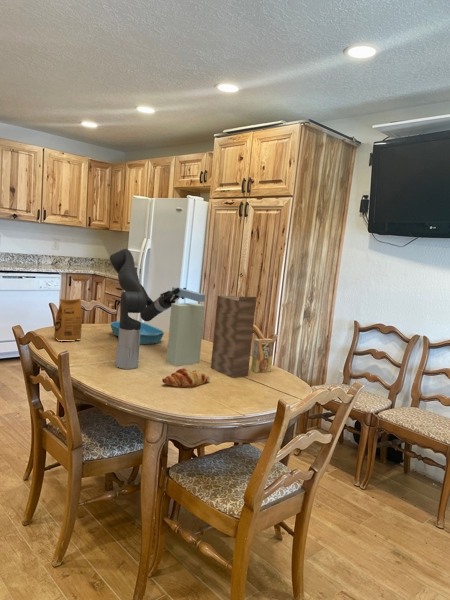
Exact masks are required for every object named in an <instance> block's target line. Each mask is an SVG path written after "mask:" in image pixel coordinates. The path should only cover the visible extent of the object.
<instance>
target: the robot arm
mask: <svg viewBox="0 0 450 600" xmlns="http://www.w3.org/2000/svg"><path fill="white" fill-rule="evenodd" d="M109 261H110V263H111V266H112V267H113V268H114V271H115V272H116V274H117V279H118V283H119V286H120V288H121V289H122V290H124V291H122V292H121V295H120V298H119V299H120V300H119V301H120V302H119V305H120V306H119V321H120V325H119V337H118V339H117V340H118V341H117V342H118V344H117V346H116V353H115V354H116V355H115V368H118V367H119V369H124V370H132V369H136V368H138V367H139V357H140V346H141V345H140V332H141V323H140V322H141V321H140V320H137V319H135V318H132V317H130V315H129V314H139V315H140V319H141V320H142V321H144V322H151V320H154V318H156V317H157V316H158V315H159V314H161V313H163V312H164V311H167V310H169V309H171V303H176V302H177V301H178V300H180V299H181V300H185V298H184V297H181V296H178V295H175V294H177V293H179V292H180V289H179V288H180V287H178V288H176V289H175V290H172V289H171V290H168V291H165V292H162V293H161V294H160V295H159V297H157V298H156V299H155V300H154V301H153V300H152V298H150V297H149V294H148V293H147V291H146V289H145V287H144V286H143V285H142V284H141V282H140V278H139V275H138V272H137V270H136V266H135V260H134V257H133V254H132V253H131V250H129V249H127V248H123V249H120V250H119V251H117V252H115V253H112V254H110V255H109ZM182 289H186V290H187V287H183V288H182Z"/></svg>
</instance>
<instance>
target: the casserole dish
mask: <svg viewBox="0 0 450 600" xmlns="http://www.w3.org/2000/svg"><path fill="white" fill-rule="evenodd" d="M139 322H140V323H141V332H140V344H145V345H154V343H155V344H158V343H160V342H161V340H162V338H163V337H164V334H165V331H164V330H162V329H160V328H157V327H156V326H154V325H151V324H149V323H146V322H143V321H139ZM109 324H110V327H111V332H112V334H113V335H114V336H116V337H117V336H118V337H117V338H119V325H120V320H118V321H112V322H111V321H110V323H109Z"/></svg>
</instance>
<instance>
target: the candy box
mask: <svg viewBox="0 0 450 600" xmlns="http://www.w3.org/2000/svg"><path fill="white" fill-rule="evenodd" d="M253 341H254V342H253V350H252V359H251V369H250V371H252V372H253V373H254V374H255V373H256V374H257V373H268V372H271V370H272V365H273V364H272V363H273V354H274V347H275V346H274V345H275V340H274V339H272V338H255V339H253Z"/></svg>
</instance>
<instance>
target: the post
mask: <svg viewBox="0 0 450 600" xmlns="http://www.w3.org/2000/svg"><path fill="white" fill-rule="evenodd" d="M256 303H257V296H235V295H217V300H216V308H215V309H216V310H215V317H214V318H215V319H214V320H215V321H214V322H215V323H214V330H213V340H212V352H211V363H210V368H211V369H212V370H214V371H217V372H219V373H221V374H223V375H225V376H227V377H229V378H232V379H235V378H241V377H243V378H244V377H247V376H249V371H250V370H249V369H250V360H251V351H252V350H251V349H252V340H253V333H254V323H255V314H256Z"/></svg>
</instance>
